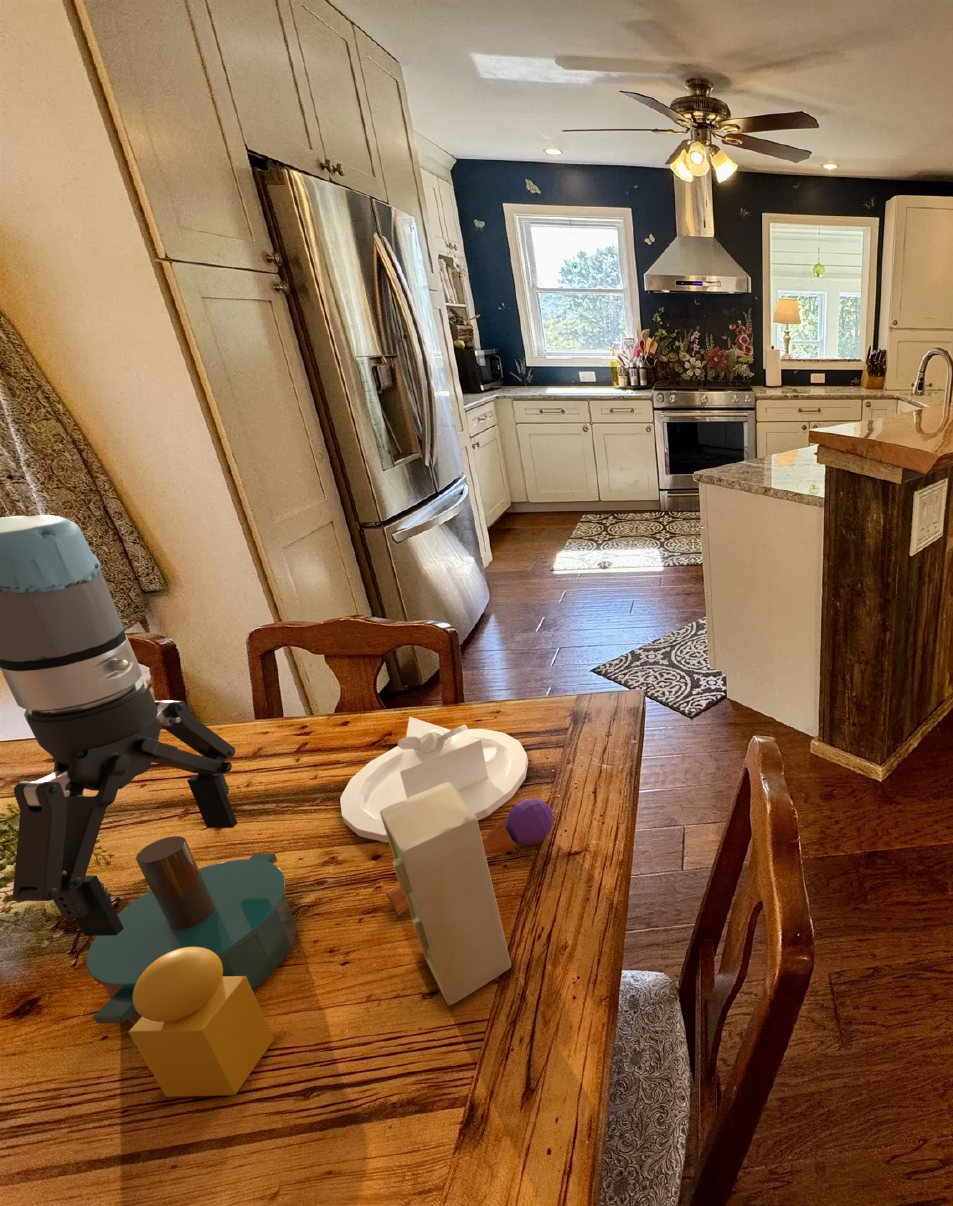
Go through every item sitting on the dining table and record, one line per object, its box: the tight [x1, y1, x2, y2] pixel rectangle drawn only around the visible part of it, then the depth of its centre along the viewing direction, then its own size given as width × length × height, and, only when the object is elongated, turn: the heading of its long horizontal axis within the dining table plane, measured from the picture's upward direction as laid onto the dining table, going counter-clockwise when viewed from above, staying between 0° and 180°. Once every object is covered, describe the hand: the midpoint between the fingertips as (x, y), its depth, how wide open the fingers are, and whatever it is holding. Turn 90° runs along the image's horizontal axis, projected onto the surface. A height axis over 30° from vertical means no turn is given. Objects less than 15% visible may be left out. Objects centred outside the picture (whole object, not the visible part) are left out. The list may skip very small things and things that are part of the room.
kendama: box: [385, 798, 555, 917], centre depth 82 cm, size 6×6×20 cm
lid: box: [85, 835, 287, 988], centre depth 65 cm, size 15×15×10 cm
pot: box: [92, 852, 297, 1026], centre depth 68 cm, size 14×20×6 cm
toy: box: [128, 947, 275, 1098], centre depth 57 cm, size 6×6×14 cm
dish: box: [339, 716, 529, 843], centre depth 95 cm, size 25×25×11 cm
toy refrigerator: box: [380, 782, 512, 1006], centre depth 66 cm, size 8×7×21 cm
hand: (169, 874), depth 65 cm, fingers open, 13 cm apart
